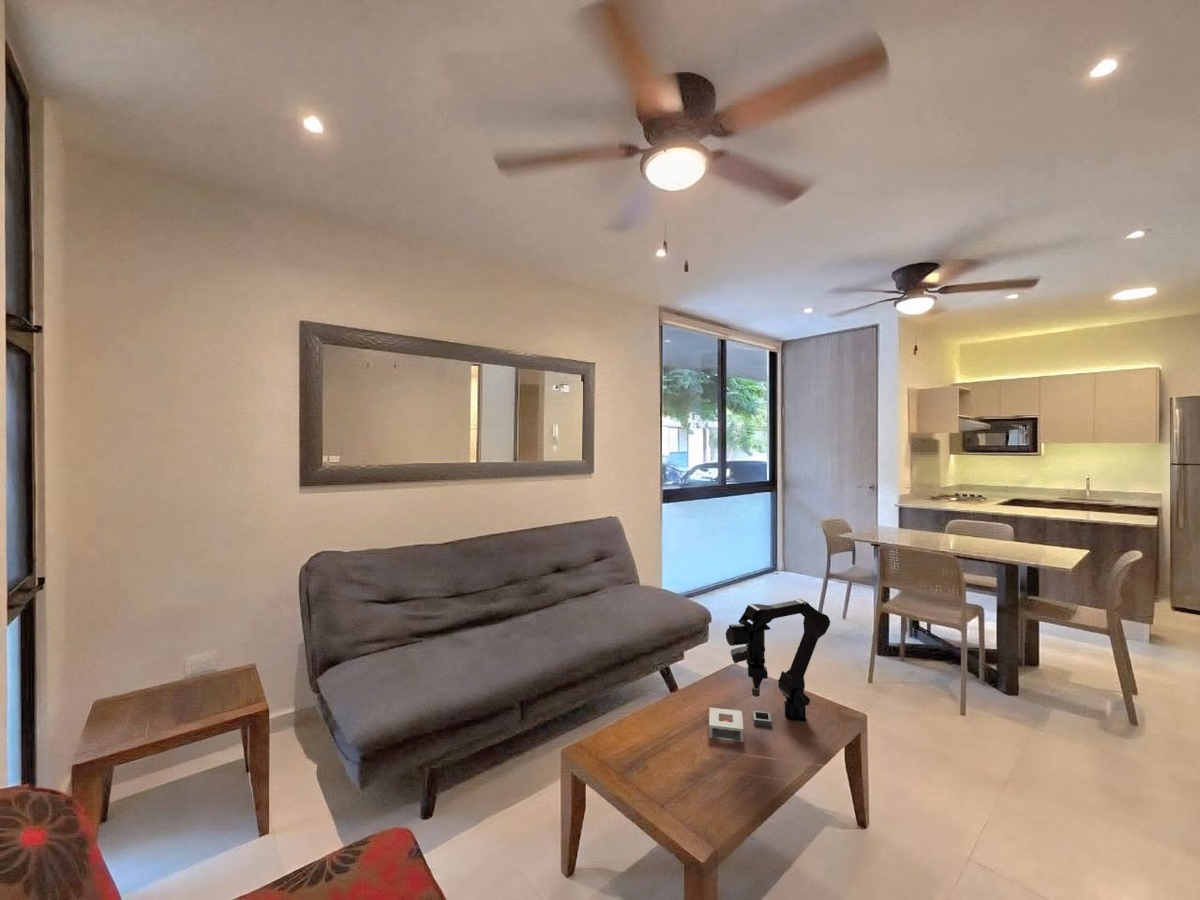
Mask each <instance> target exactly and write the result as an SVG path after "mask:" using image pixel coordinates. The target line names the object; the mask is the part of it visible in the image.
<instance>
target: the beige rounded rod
mask: <svg viewBox="0 0 1200 900" xmlns="http://www.w3.org/2000/svg"><path fill="white" fill-rule="evenodd" d="M760 689H761V684H760V685H759V687H758V689H755V688H754V683H753V678H752V677H751V695H752V696H753V697H757V698H758V697H760V695H761V691H760Z"/></svg>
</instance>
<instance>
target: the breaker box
mask: <svg viewBox="0 0 1200 900" xmlns="http://www.w3.org/2000/svg"><path fill="white" fill-rule="evenodd" d="M720 716H721V717H728V718H732V720H730V722H725V721H721V720H722V719H720ZM708 717H709V720H708V737H709V739H713V740H722V741H729V742H737V743H744V722H743V721H744V720H743V711H742V710H738V709H737V710H736V709H726V708H718V707H709V716H708Z"/></svg>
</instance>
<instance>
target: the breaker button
mask: <svg viewBox="0 0 1200 900" xmlns="http://www.w3.org/2000/svg"><path fill="white" fill-rule="evenodd" d="M720 720H721V721H725V722H730V721H731V720H730V719H729V718H721V719H720Z"/></svg>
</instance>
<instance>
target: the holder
mask: <svg viewBox="0 0 1200 900" xmlns="http://www.w3.org/2000/svg"><path fill="white" fill-rule="evenodd" d="M752 721H753V725H754V726H761V727H770V728H772V723H773V721H772V717H771V712H769V711H763V710H752Z"/></svg>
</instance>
